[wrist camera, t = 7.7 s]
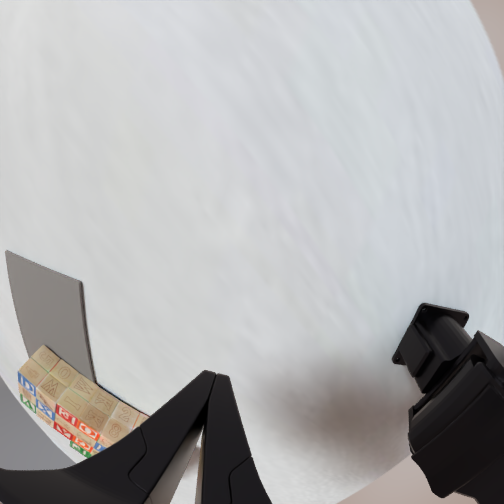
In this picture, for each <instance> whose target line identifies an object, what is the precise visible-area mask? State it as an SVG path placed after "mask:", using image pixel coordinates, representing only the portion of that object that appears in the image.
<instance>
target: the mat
mask: <svg viewBox="0 0 504 504" xmlns="http://www.w3.org/2000/svg"><path fill="white" fill-rule="evenodd" d="M5 255H6V263H7V270H8V276H9V282H10V287H11V293H12V297H13V302H14V307H15V311H16V315H17V319H18V323H19V327H20V330H21V334H22V337H23V341H24V344H25V347H26V350H27V353H28V356H29V358H31V356H32V355H33V354H34V353H35V352H36V351H37V350H38V349H39V348H40V347H41V346H42V345H45V346H46V347H47V348H48V349H49V350H51V351H52V352H53V353H54V354H55V355H57V356H58V357H59V358H60V359H62V360H64V361H65V362H66V363H67V364H69V365H70V366H71V367H73V368H74V369H75V370H76V371H78V372H79V373H80V374H82V375H83V376H85V377H86V378H88V379H89V380H90V381H92V382H93V383H95V379H94V374H93V369H92V364H91V359H90V353H89V347H88V341H87V334H86V327H85V319H84V311H83V301H82V289H81V281H79V280H76V279H73V278H71V277H68V276H66V275H63V274H61V273H58V272H56V271H53V270H51V269H48V268H46V267H44V266H41V265H39V264H37V263H34V262H32V261H30V260H27V259H25V258H23V257H21V256H19V255H16V254H14V253H12V252H10V251H8V250H7V251H5ZM95 384H96V383H95Z"/></svg>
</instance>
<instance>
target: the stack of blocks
mask: <svg viewBox="0 0 504 504" xmlns="http://www.w3.org/2000/svg"><path fill="white" fill-rule="evenodd" d="M18 385H19V392H20V398H21V402H23V403H24V404H25V405H26V406H27V407H28V408H29V409H31V410H32V411H33V412H34V413H35V414H36V415H37V416H38V417H39V418H40V419H42V420H43V421H44V422H45V423H47V424H48V425H49V426H51V427H52V428H54V429H55V430H57V431H58V432H60V433H61V434H62V435H64V436H65V437H67V438H68V439H69V440H71V441H70V447H72V448H73V449H75V450H76V451H78V452H79V453H81V454H82V455H84V456H85V457H87V458H89V457H91V456H93V455H95V454H97V453H99V452H100V451H102V450H104V449H106V448H108V447H109V446H111V445H113V444H114V443H116V442H117V441H119V440H120V439H122V438H123V437H125V436H126V435H127V434H129V433H130V432H131V431H133V430H134V429H135V428H136V427H138V426H139V427H140V424H141V423H143V422H144V421H145V420H146V419H148V418H149V417H148V416H146V415H145V414H143V413H140V412H138V411H136V410H135V409H133V408H131V407H130V406H128V405H126V404H125V403H123V402H121V401H119V400H118V399H117V398H115V397H113V396H112V395H110V394H109V393H107V392H106V391H104V390H103V389H101V388H100V387H98V385H96V384H95V383H93V382H92V381H90V380H89V379H88V378H86V377H85V376H83V375H82V374H80V373H79V372H78V371H76V370H75V369H74V368H73V367H71V366H70V365H69V364H67V363H66V362H65V361H64V360H62V359H60V358H59V357H58V356H57V355H55V354H54V353H53V352H52V351H51V350H49V349H48V348H47V347H46V346H45V345H42V346H41V347H40V348H39V349H38V350H37V351H36V352H35V353H34V354H33V355H32V356H31V358H29V360H28V361H27V362H26V363H25V364H24V365H23V366H22V367H21V368H20V369H19V370H18Z"/></svg>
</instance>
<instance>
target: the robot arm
mask: <svg viewBox="0 0 504 504" xmlns="http://www.w3.org/2000/svg"><path fill="white" fill-rule="evenodd" d="M424 308H425V309H424ZM423 309H424V310H423ZM468 319H469V314H468V313H467V312H465V311H460V310H456V309H451V308H446V307H442V306H437V305H433V304H428V303H422V304H421V305H420V306H419V308H418V310H417V312H416V314H415V316H414V318H413V320H412V322H411V324H410V326H409V327H408V329H407V331H406V333H405V335H404V337H403V339H402V341H401V342H400V344H399V346H398V348H397V350H396V352H395V354H394V355H393V357H392V361H393V363H394V364H399V365H406V366H407V368H408V370H409V372H410V374H411V376H412V377H414V378H415V380H416V382H417V384H418V386H419V388H420V390H421V393H422V394H426V395H425V396H424V397H423V398H422V399H421V400H420V401H419V402H418V403H417V404H416V405H414V406H412V407H411V408H410V409H409V410H408V412H409V433H408V440H409V446H410V451H411V453H412V454H413V455H412V456H411V458H412V459H413V460H414V461H415V462H416V463H417V465H419V467H420V468H421V470H422V471H423V473H424V474H425V476H426V478H427V480H428V483H429V485H430V488H431V491H432V492H433V493H434V494H435V495H437V496H438V497H440V498H445V497H447V496H448V495H449V494H451V493H453V492H455V493H458V494H461V495H464V496H467V497H471V498H474V499H475V501H476V502H477V503H478V504H504V347H503V346H502V345H501V344H500V343H498V342H497V341H495V340H494V339H492V338H490V337H489V336H487V335H485V334H484V333H482V332H480V331H479V330H478V331H477V332H476V334H475V335H474V338H473V340H472V338H471V337H470V336H469V335H468V334H467V332H466V331H465V330H464V329H463V328H464V326H465V325H466V323H467V321H468ZM397 358H398V359H397ZM203 426H204V427H203ZM202 430H203V433H202V440H201V449H200V458H199V467H198V477H197V487H196V497H195V504H272V502H271V500H270V499H269V497H268V495H267V493H266V491H265V489H264V487H263V485H262V482H261V480H260V478H259V475H258V472H257V470H256V467H255V464H254V461H253V458H252V457H251V456H252V455H251V451H250V448H249V445H248V441H247V438H246V435H245V431H244V428H243V424H242V421H241V417H240V414H239V410H238V407H237V403H236V400H235V396H234V392H233V389H232V385H231V381H230V378H229V376H227V375H223V374H219V373H218V374H217V375H216V373H215V372H212V371H208V370H204V371H202V372H201V373H200V374H199V375H198V376H197V377H196V378H195V379H193V380H192V381H191V382H190V383H189V384H188V385H187V386H185V387H184V388H183V389H182V390H181V391H180V392H178V393H177V394H176V395H175V396H174V397H173V398H171V399H170V400H169V401H168V402H167V403H166V404H164V405H163V406H162V407H161V408H160V409H158V410H157V411H156V412H155V413H154V414H152V415H151V416H150V417H149V418H148V419H146V420H145V421H144V422H143V423H141V424H140V427H139V426H138V427H136V428H135V429H134V430H133V431H131V432H130V433H129V434H127V435H126V436H125V437H123V438H122V439H120V440H119V441H117V442H116V443H114V444H113V445H111V446H109V447H108V448H106V449H104V450H102V451H100V452H99V453H97V454H95V455H93V456H91V457H89V458H87V459H85V460H83V461H81V462H79V463H77V464H76V465H73V466H71V467H67V468H63V469H56V470H30V471H29V470H27V471H26V470H24V471H23V470H6V469H2V468H0V504H170V502H171V500H172V498H173V495H174V493H175V491H176V489H177V487H178V484H179V482H180V480H181V478H182V476H183V473H184V471H185V469H186V467H187V464H188V462H189V460H190V458H191V455H192V453H193V451H194V449H195V446H196V444H197V442H198V440H199V437H200V435H201V432H202Z"/></svg>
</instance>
